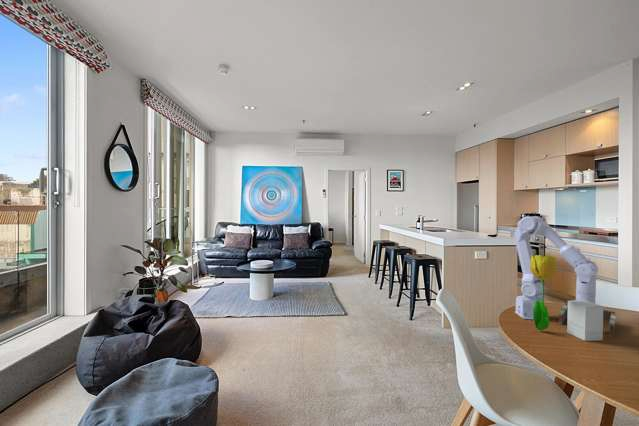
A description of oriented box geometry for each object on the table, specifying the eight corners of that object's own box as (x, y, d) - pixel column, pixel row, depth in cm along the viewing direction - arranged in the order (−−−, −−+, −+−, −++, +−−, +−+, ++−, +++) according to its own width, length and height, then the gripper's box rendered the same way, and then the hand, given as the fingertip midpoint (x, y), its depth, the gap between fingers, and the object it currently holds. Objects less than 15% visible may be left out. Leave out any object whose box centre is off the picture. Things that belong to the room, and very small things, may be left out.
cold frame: (564, 313, 135) (564, 302, 135) (615, 324, 123) (615, 312, 123) (558, 323, 123) (558, 311, 123) (614, 336, 111) (614, 323, 111)
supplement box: (603, 340, 108) (604, 306, 107) (584, 341, 107) (585, 306, 107) (583, 332, 115) (585, 299, 115) (566, 332, 115) (567, 300, 114)
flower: (559, 337, 110) (562, 256, 109) (535, 335, 112) (537, 255, 111) (547, 327, 119) (549, 253, 118) (524, 326, 120) (526, 252, 120)
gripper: (598, 298, 108) (597, 335, 109) (601, 290, 118) (599, 324, 119) (573, 294, 113) (572, 329, 114) (577, 287, 123) (576, 319, 124)
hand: (584, 326), depth 117 cm, fingers closed
